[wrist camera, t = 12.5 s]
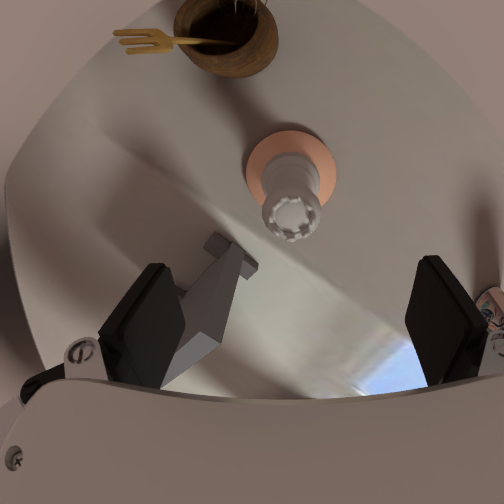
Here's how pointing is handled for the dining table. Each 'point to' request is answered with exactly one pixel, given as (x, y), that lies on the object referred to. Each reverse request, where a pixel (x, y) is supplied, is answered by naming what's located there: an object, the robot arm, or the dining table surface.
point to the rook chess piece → (291, 196)
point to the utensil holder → (216, 36)
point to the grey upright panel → (209, 303)
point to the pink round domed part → (291, 143)
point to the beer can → (492, 308)
